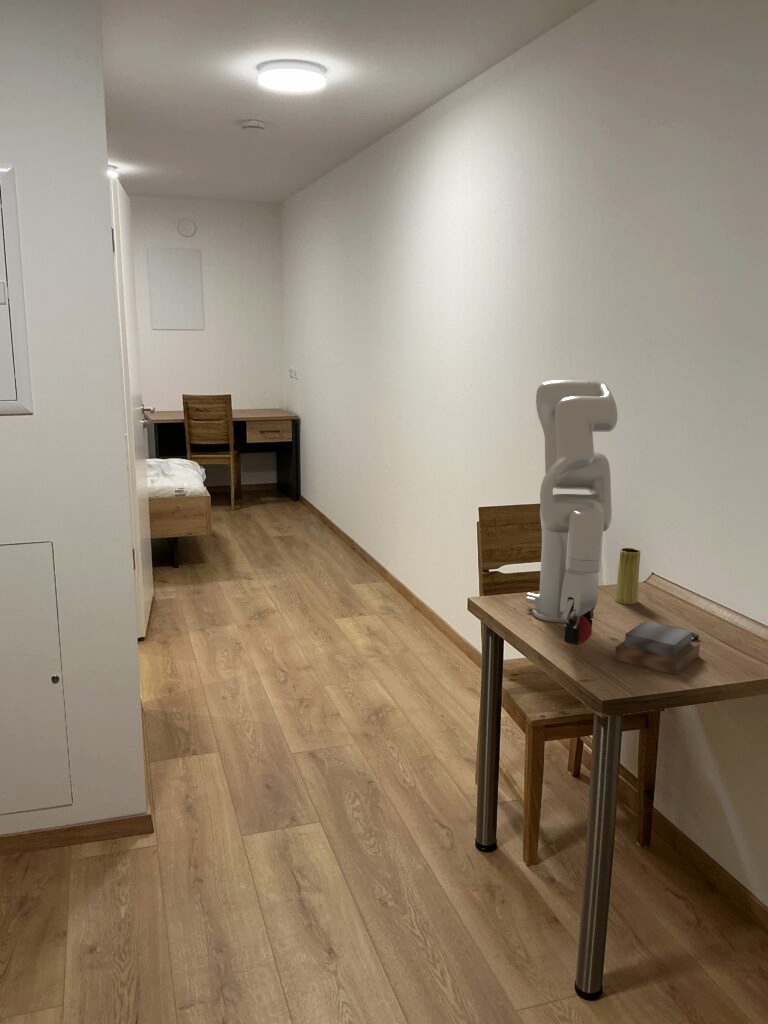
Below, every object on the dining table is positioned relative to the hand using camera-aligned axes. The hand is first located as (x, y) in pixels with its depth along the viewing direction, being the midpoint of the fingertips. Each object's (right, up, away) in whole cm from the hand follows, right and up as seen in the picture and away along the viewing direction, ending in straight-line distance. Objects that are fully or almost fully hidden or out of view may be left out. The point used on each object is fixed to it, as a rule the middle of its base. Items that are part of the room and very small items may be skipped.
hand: (577, 638), depth 199 cm
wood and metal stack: (+17, -4, -2) cm, 18 cm away
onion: (0, -2, 0) cm, 2 cm away
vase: (+22, +4, +38) cm, 44 cm away
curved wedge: (+25, -2, +13) cm, 28 cm away
